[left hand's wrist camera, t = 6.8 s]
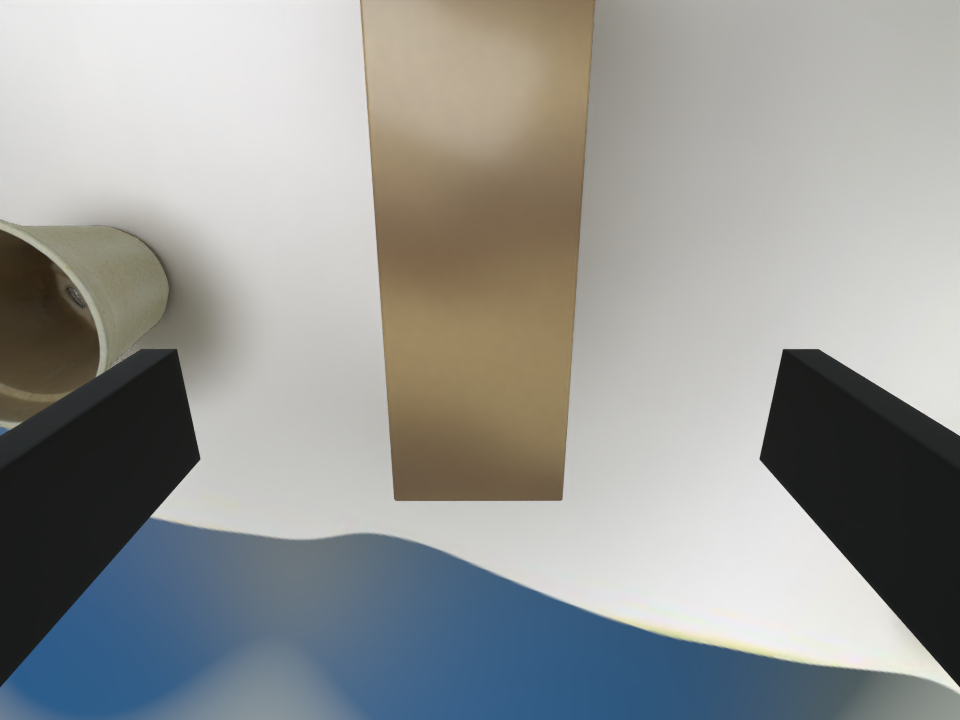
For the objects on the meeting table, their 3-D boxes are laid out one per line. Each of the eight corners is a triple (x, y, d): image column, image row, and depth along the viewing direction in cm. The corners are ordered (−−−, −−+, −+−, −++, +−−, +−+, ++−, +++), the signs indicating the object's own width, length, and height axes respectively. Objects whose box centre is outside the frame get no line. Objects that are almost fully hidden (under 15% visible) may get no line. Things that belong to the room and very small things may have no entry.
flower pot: (82, 153, 28) (-74, 157, 20) (234, 278, 31) (149, 326, 23) (-4, 281, 31) (-173, 330, 23) (143, 388, 33) (37, 466, 25)
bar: (535, 384, 23) (562, 501, 16) (421, 384, 23) (394, 502, 16) (570, -482, 14) (673, -1184, 7) (384, -482, 14) (277, -1186, 7)
